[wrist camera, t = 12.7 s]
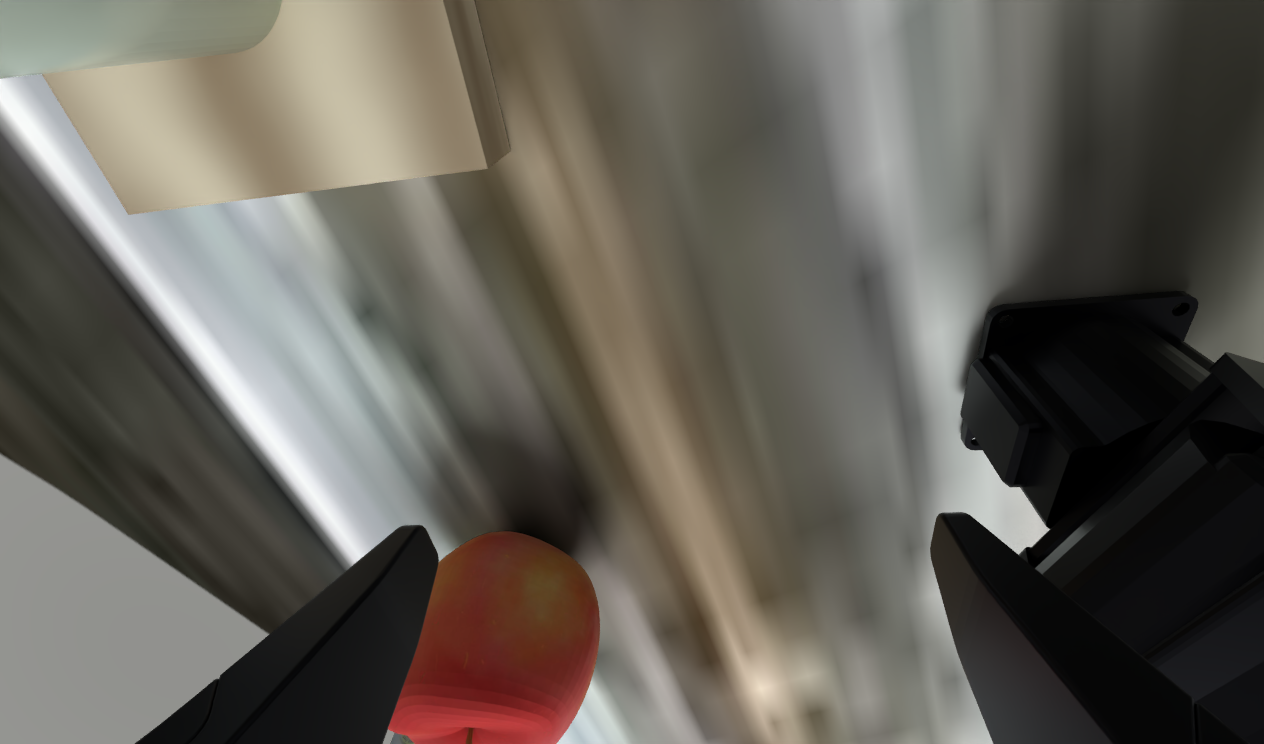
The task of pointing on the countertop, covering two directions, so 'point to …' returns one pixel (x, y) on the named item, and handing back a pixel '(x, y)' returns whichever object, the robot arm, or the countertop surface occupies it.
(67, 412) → the countertop surface
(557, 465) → the countertop surface
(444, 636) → the apple
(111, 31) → the sage bottle
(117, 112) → the birch pad
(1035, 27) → the countertop surface
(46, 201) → the countertop surface
